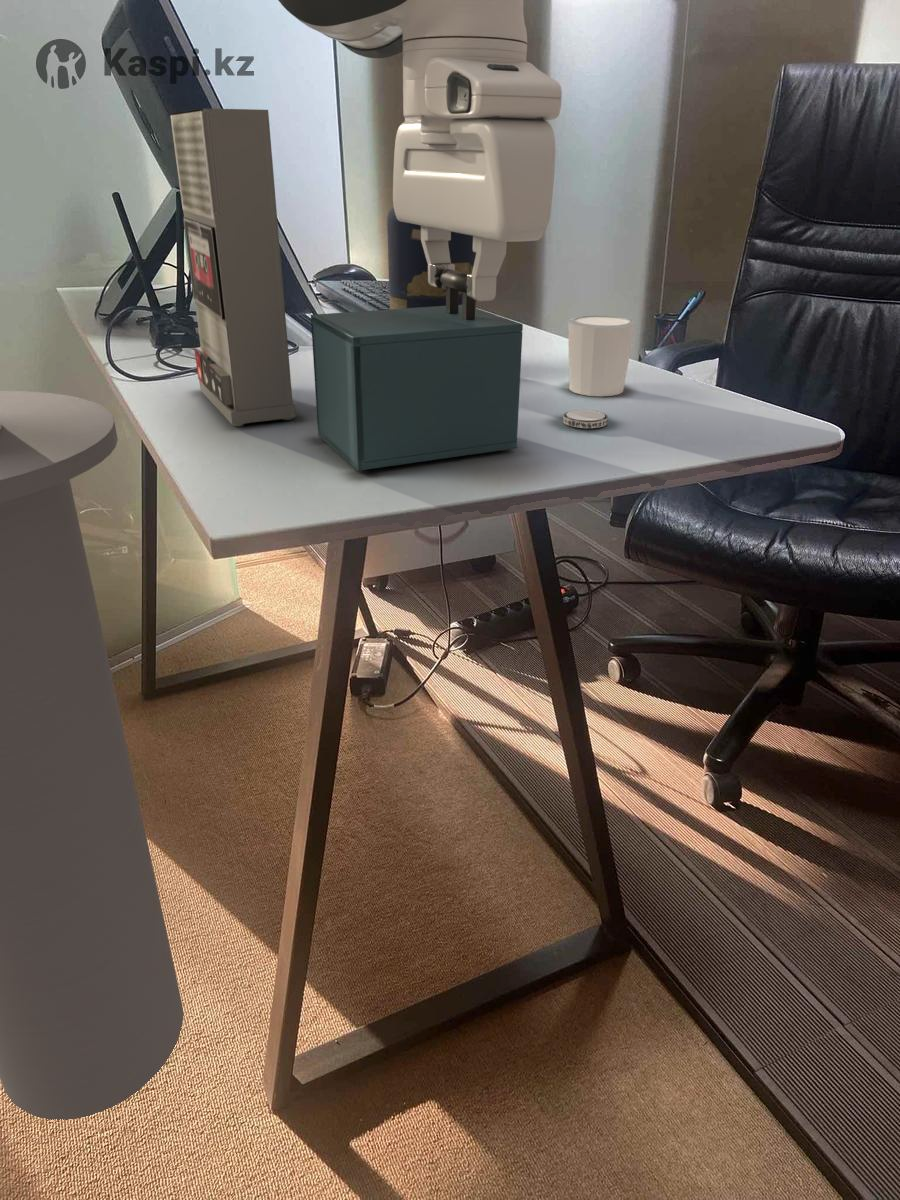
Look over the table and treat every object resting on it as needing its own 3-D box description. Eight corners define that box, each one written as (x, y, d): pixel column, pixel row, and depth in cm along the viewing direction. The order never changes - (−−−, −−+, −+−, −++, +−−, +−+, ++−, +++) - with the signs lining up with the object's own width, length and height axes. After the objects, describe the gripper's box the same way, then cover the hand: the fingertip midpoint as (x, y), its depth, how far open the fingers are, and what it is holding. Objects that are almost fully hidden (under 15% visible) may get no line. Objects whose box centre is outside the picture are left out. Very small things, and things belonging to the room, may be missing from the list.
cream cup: (588, 378, 94) (593, 312, 91) (641, 389, 90) (649, 320, 87) (550, 389, 90) (554, 320, 86) (604, 401, 86) (611, 329, 82)
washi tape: (615, 425, 78) (616, 418, 78) (578, 430, 76) (578, 423, 76) (591, 414, 81) (591, 407, 81) (555, 418, 80) (555, 412, 79)
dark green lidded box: (358, 470, 66) (350, 288, 59) (317, 435, 74) (307, 271, 67) (516, 448, 71) (525, 278, 65) (463, 417, 79) (466, 263, 73)
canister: (474, 361, 101) (478, 193, 93) (475, 380, 93) (479, 198, 84) (394, 360, 101) (390, 192, 93) (387, 379, 93) (382, 197, 85)
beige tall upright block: (198, 393, 88) (160, 113, 76) (256, 386, 90) (229, 114, 79) (229, 428, 77) (191, 108, 65) (295, 420, 79) (270, 109, 68)
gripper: (371, 96, 69) (376, 278, 75) (490, 83, 53) (483, 316, 59) (442, 98, 71) (441, 274, 78) (577, 87, 55) (561, 310, 62)
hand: (460, 293), depth 68 cm, fingers closed on dark green lidded box, 6 cm apart
